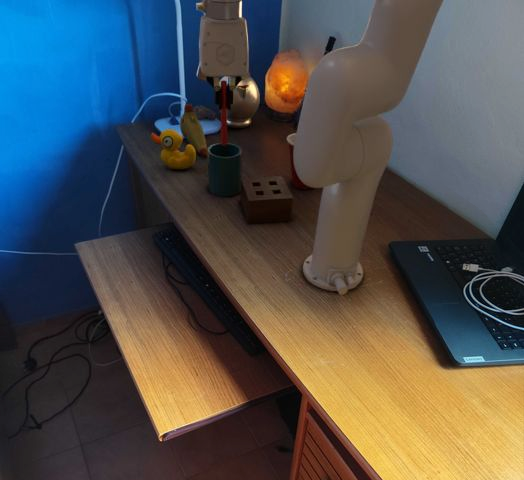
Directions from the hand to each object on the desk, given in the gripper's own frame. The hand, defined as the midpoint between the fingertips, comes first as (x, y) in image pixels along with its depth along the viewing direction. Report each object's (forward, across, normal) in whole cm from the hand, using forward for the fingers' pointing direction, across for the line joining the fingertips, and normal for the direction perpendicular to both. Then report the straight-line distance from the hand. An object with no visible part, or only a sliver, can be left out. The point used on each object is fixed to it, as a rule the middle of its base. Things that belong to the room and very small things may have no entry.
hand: (223, 107), depth 106 cm
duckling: (+20, -11, +12) cm, 26 cm away
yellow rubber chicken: (+20, -5, +26) cm, 33 cm away
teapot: (+20, +10, +42) cm, 48 cm away
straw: (+9, 0, 0) cm, 9 cm away
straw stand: (+20, +8, -12) cm, 24 cm away
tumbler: (+20, 0, 0) cm, 20 cm away
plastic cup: (+20, +21, 0) cm, 29 cm away
